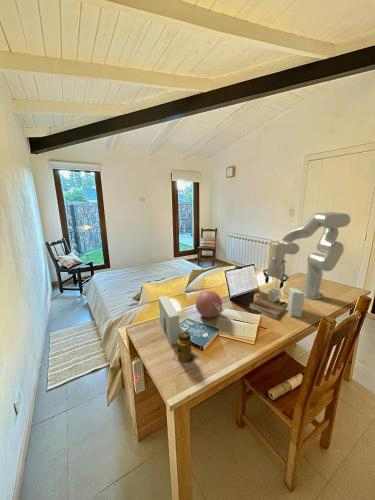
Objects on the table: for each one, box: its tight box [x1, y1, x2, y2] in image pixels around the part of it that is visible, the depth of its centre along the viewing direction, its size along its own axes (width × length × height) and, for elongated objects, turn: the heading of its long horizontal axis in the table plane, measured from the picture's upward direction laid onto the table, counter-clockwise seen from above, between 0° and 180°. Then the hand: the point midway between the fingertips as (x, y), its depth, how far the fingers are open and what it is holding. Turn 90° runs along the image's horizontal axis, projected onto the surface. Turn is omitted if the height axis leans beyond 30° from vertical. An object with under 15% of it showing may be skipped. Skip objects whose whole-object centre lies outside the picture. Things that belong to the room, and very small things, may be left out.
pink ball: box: [195, 290, 223, 319], centre depth 123 cm, size 15×20×15 cm
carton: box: [267, 287, 280, 303], centre depth 144 cm, size 6×5×8 cm
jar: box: [252, 292, 263, 306], centre depth 135 cm, size 5×5×7 cm
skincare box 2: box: [286, 287, 305, 318], centre depth 127 cm, size 8×7×16 cm
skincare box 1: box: [158, 294, 181, 346], centre depth 110 cm, size 21×6×16 cm, turn 22°
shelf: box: [249, 297, 287, 320], centre depth 134 cm, size 15×17×3 cm
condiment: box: [173, 331, 198, 367], centre depth 93 cm, size 7×8×12 cm
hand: (273, 285), depth 142 cm, fingers open, 9 cm apart
